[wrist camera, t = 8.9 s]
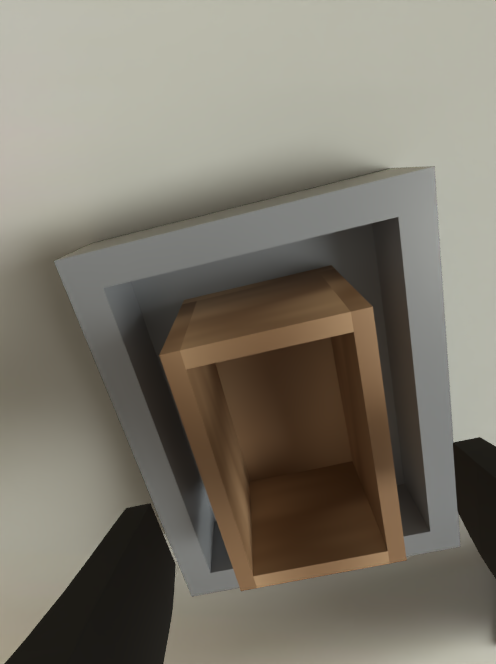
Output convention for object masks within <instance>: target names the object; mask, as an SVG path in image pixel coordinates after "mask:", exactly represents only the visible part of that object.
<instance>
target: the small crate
mask: <svg viewBox="0 0 496 664" xmlns="http://www.w3.org/2000/svg"><path fill="white" fill-rule="evenodd" d="M159 356H160V359H161V362H162V365H163V368H164V371H165V374H166V376H167V379H168V382H169V385H170V388H171V391H172V394H173V397H174V400H175V402H176V405H177V408H178V411H179V414H180V417H181V420H182V423H183V426H184V428H185V431H186V434H187V437H188V440H189V443H190V446H191V449H192V452H193V454H194V457H195V460H196V463H197V466H198V469H199V472H200V475H201V477H202V480H203V483H204V486H205V489H206V492H207V495H208V498H209V501H210V503H211V506H212V509H213V512H214V515H215V518H216V521H217V524H218V527H219V529H220V532H221V535H222V538H223V541H224V544H225V547H226V550H227V553H228V555H229V558H230V561H231V564H232V567H233V570H234V573H235V576H236V579H237V581H238V584H239V587H240V590H241V591H243V590H249V589H254V588H260V587H265V586H271V585H276V584H281V583H287V582H292V581H298V580H303V579H308V578H314V577H319V576H325V575H330V574H335V573H341V572H346V571H352V570H357V569H363V568H368V567H373V566H379V565H384V564H390V563H395V562H400V561H406V560H407V559H406V552H405V544H404V537H403V529H402V522H401V514H400V507H399V499H398V492H397V484H396V477H395V469H394V462H393V454H392V447H391V439H390V432H389V424H388V417H387V409H386V402H385V394H384V387H383V379H382V372H381V364H380V357H379V349H378V342H377V334H376V327H375V319H374V312H373V306H372V305H371V304H370V303H369V302H368V301H367V300H366V299H365V298H364V297H363V296H362V295H361V294H360V293H359V292H358V291H357V290H356V289H355V288H354V287H353V286H352V285H351V284H350V283H349V282H348V281H347V280H346V279H345V278H344V277H343V276H342V275H341V274H340V273H339V272H338V271H337V270H336V269H335V268H334V267H333V266H332V265H330V266H326V267H322V268H318V269H313V270H309V271H305V272H301V273H297V274H292V275H288V276H284V277H280V278H275V279H271V280H267V281H263V282H258V283H254V284H250V285H246V286H241V287H237V288H233V289H229V290H224V291H220V292H216V293H212V294H207V295H203V296H199V297H195V298H191V299H186V300H184V301H183V303H182V306H181V308H180V310H179V312H178V314H177V317H176V319H175V321H174V323H173V326H172V328H171V330H170V332H169V335H168V337H167V339H166V341H165V343H164V346H163V348H162V350H161V352H160V355H159Z"/></svg>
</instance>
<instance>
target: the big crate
mask: <svg viewBox="0 0 496 664" xmlns="http://www.w3.org/2000/svg"><path fill="white" fill-rule="evenodd" d="M54 263H55V266H56V268H57V270H58V273H59V275H60V278H61V280H62V283H63V285H64V287H65V290H66V292H67V295H68V297H69V300H70V302H71V304H72V307H73V309H74V312H75V314H76V317H77V319H78V321H79V324H80V326H81V329H82V331H83V334H84V336H85V338H86V341H87V343H88V346H89V348H90V351H91V353H92V355H93V358H94V360H95V363H96V365H97V368H98V370H99V373H100V375H101V377H102V380H103V382H104V385H105V387H106V390H107V392H108V394H109V397H110V399H111V402H112V404H113V407H114V409H115V411H116V414H117V416H118V419H119V421H120V424H121V426H122V428H123V431H124V433H125V436H126V438H127V441H128V443H129V445H130V448H131V450H132V453H133V455H134V458H135V460H136V462H137V465H138V467H139V470H140V472H141V475H142V477H143V479H144V482H145V484H146V487H147V489H148V492H149V494H150V496H151V499H152V501H153V504H154V506H155V509H156V511H157V513H158V516H159V518H160V521H161V523H162V526H163V528H164V530H165V533H166V535H167V538H168V540H169V543H170V545H171V547H172V550H173V552H174V555H175V557H176V560H177V562H178V565H179V567H180V569H181V572H182V574H183V577H184V579H185V582H186V584H187V586H188V589H189V591H190V594H191V596H198V595H203V594H209V593H214V592H219V591H225V590H230V589H236V588H240V587H239V584H238V581H237V579H236V576H235V573H234V570H233V567H232V564H231V561H230V558H229V555H228V553H227V550H226V547H225V544H224V541H223V538H222V535H221V532H220V529H219V527H218V524H217V521H216V518H215V515H214V512H213V509H212V506H211V503H210V501H209V498H208V495H207V492H206V489H205V486H204V483H203V480H202V477H201V475H200V472H199V469H198V466H197V463H196V460H195V457H194V454H193V452H192V449H191V446H190V443H189V440H188V437H187V434H186V431H185V428H184V426H183V423H182V420H181V417H180V414H179V411H178V408H177V405H176V402H175V400H174V397H173V394H172V391H171V388H170V385H169V382H168V379H167V376H166V374H165V371H164V368H163V365H162V362H161V359H160V356H159V355H160V352H161V350H162V348H163V346H164V343H165V341H166V339H167V337H168V335H169V332H170V330H171V328H172V326H173V323H174V321H175V319H176V317H177V314H178V312H179V310H180V308H181V306H182V303H183V301H184V300H186V299H191V298H195V297H199V296H203V295H207V294H212V293H216V292H220V291H224V290H229V289H233V288H237V287H241V286H246V285H250V284H254V283H258V282H263V281H267V280H271V279H275V278H280V277H284V276H288V275H292V274H297V273H301V272H305V271H309V270H313V269H318V268H322V267H326V266H330V265H332V266H333V267H334V268H335V269H336V270H337V271H338V272H339V273H340V274H341V275H342V276H343V277H344V278H345V279H346V280H347V281H348V282H349V283H350V284H351V285H352V286H353V287H354V288H355V289H356V290H357V291H358V292H359V293H360V294H361V295H362V296H363V297H364V298H365V299H366V300H367V301H368V302H369V303H370V304H371V305H372V306H373V312H374V319H375V327H376V334H377V342H378V349H379V357H380V364H381V372H382V379H383V387H384V394H385V402H386V409H387V417H388V424H389V432H390V439H391V447H392V454H393V462H394V469H395V477H396V484H397V492H398V499H399V507H400V514H401V522H402V529H403V537H404V544H405V552H406V557H408V556H413V555H419V554H424V553H429V552H435V551H440V550H446V549H451V548H456V547H460V532H459V517H458V511H457V497H456V483H455V469H454V455H453V429H452V414H451V400H450V385H449V370H448V355H447V341H446V326H445V311H444V296H443V282H442V267H441V252H440V238H439V223H438V208H437V193H436V179H435V166H430V167H406V168H391V169H387V170H383V171H379V172H375V173H371V174H367V175H363V176H359V177H355V178H351V179H347V180H343V181H339V182H335V183H331V184H327V185H323V186H319V187H315V188H311V189H307V190H303V191H299V192H295V193H291V194H287V195H283V196H279V197H275V198H271V199H267V200H263V201H259V202H255V203H251V204H247V205H243V206H239V207H235V208H231V209H227V210H223V211H219V212H215V213H211V214H207V215H203V216H199V217H195V218H191V219H187V220H183V221H179V222H175V223H171V224H167V225H163V226H159V227H155V228H151V229H147V230H143V231H139V232H135V233H131V234H127V235H123V236H119V237H115V238H111V239H107V240H103V241H99V242H95V243H91V244H89V245H87V246H85V247H83V248H81V249H78V250H76V251H74V252H72V253H70V254H68V255H65V256H63V257H61V258H59V259H57V260H55V261H54Z"/></svg>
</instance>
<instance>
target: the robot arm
mask: <svg viewBox="0 0 496 664" xmlns="http://www.w3.org/2000/svg"><path fill="white" fill-rule="evenodd" d="M453 455H454V469H455V483H456V497H457V511H458V513H459V515H460V517H461V519H462V521H463V523H464V525H465V527H466V529H467V531H468V533H469V535H470V537H471V538H472V540H473V542H474V544H475V546H476V548H477V550H478V552H479V553H480V555H481V557H482V558H483V560H484V561H485V563H486V565H487V566H488V568H489V569H490V571H491V572H492V574H493V575H494V577H495V578H496V446H494V445H492V444H491V443H489V442H487V441H485V440H484V439H482V438H480V437H479V438H474V439H469V440H464V441H459V442H454V443H453ZM174 582H175V562H174V560H173V557H172V555H171V552H170V550H169V548H168V545H167V543H166V540H165V538H164V535H163V533H162V531H161V528H160V526H159V523H158V521H157V518H156V516H155V514H154V511H153V509H152V506H151V504H145V505H140V506H135V507H130V508H126V509H125V511H124V512H123V513H122V514H121V516H120V517H119V518H118V520H117V521H116V522H115V524H114V525H113V526H112V528H111V529H110V531H109V532H108V533H107V535H106V536H105V537H104V539H103V540H102V541H101V543H100V544H99V546H98V547H97V548H96V550H95V551H94V552H93V554H92V555H91V556H90V558H89V559H88V560H87V562H86V563H85V564H84V566H83V567H82V568H81V570H80V571H79V572H78V574H77V575H76V576H75V578H74V579H73V580H72V582H71V583H70V584H69V586H68V587H67V588H66V590H65V591H64V592H63V594H62V595H61V596H60V597H59V599H58V600H57V601H56V602H55V603H54V605H53V606H52V607H51V608H50V610H49V611H48V612H47V613H46V615H45V616H44V617H43V618H42V620H41V621H40V622H39V623H38V624H37V626H36V627H35V628H34V629H33V631H32V632H31V633H30V634H29V636H28V637H27V638H26V639H25V641H24V642H23V643H22V644H21V645H20V646H19V648H18V649H17V650H16V651H15V652H14V653H13V655H12V656H11V657H10V658H9V659H8V660H7V661H6V663H5V664H163V662H164V657H165V651H166V645H167V640H168V634H169V628H170V622H171V616H172V609H173V597H174Z"/></svg>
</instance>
